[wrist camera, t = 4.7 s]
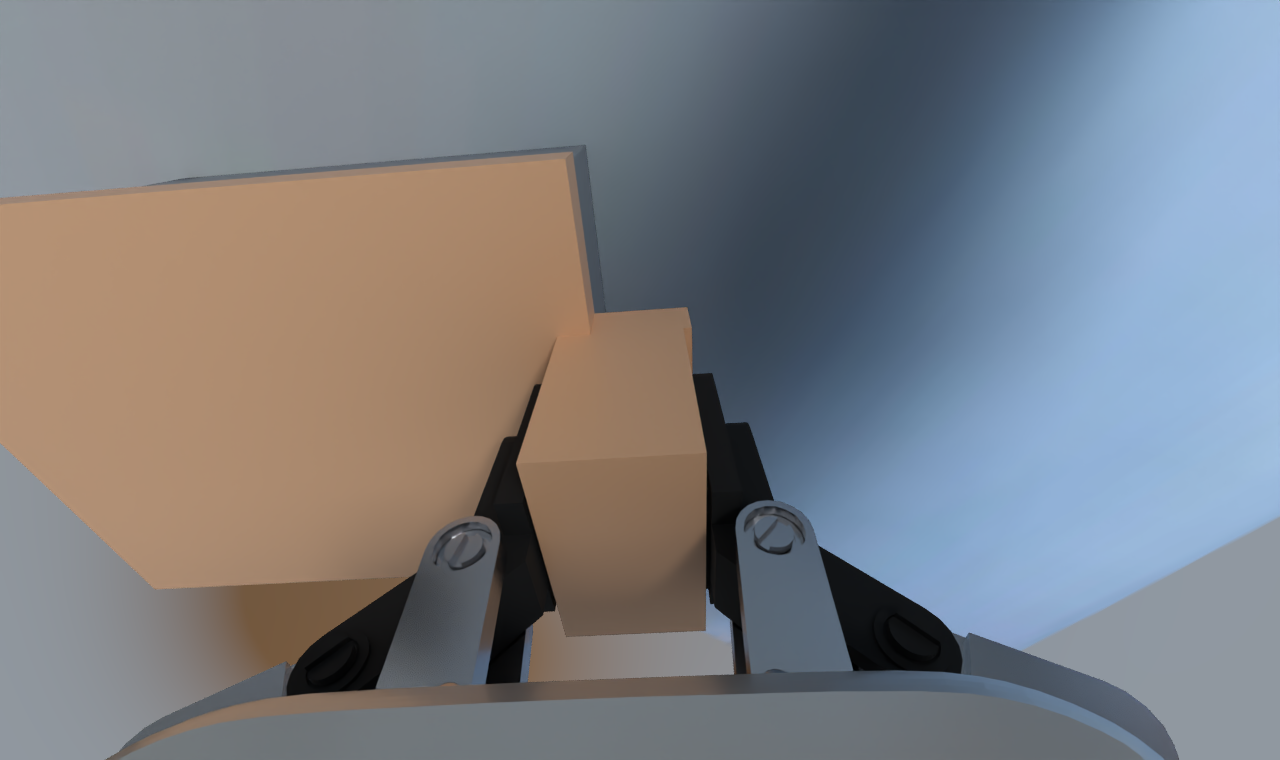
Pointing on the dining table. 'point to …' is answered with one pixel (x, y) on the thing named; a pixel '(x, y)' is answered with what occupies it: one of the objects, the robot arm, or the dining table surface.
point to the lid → (351, 381)
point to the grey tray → (578, 155)
